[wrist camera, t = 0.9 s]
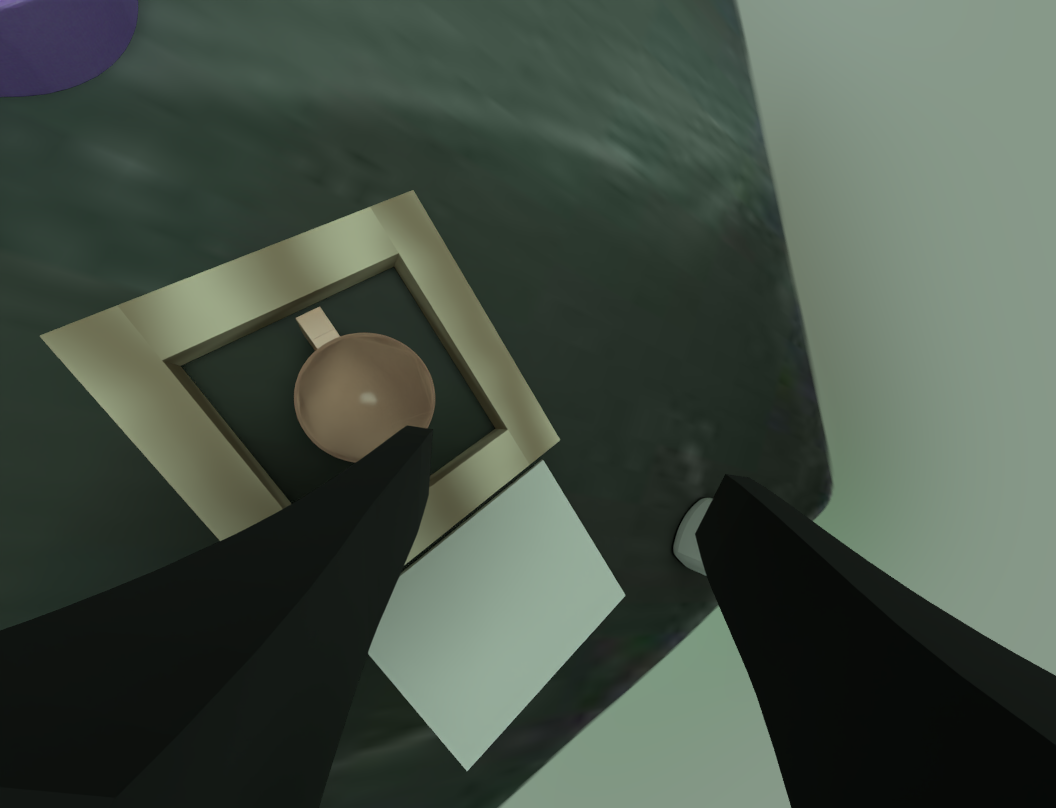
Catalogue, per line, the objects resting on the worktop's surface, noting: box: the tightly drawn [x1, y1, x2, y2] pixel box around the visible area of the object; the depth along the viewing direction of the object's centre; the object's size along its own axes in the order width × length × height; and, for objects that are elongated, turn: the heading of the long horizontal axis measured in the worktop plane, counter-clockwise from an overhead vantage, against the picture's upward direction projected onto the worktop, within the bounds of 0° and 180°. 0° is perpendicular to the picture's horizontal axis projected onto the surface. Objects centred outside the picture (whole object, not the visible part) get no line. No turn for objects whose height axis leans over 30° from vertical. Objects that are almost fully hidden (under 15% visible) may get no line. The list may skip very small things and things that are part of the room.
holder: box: [40, 190, 560, 564], centre depth 20 cm, size 16×16×2 cm
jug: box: [294, 307, 435, 463], centre depth 18 cm, size 5×7×6 cm
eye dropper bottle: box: [673, 498, 713, 576], centre depth 26 cm, size 4×6×12 cm
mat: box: [368, 460, 625, 771], centre depth 24 cm, size 14×12×1 cm
